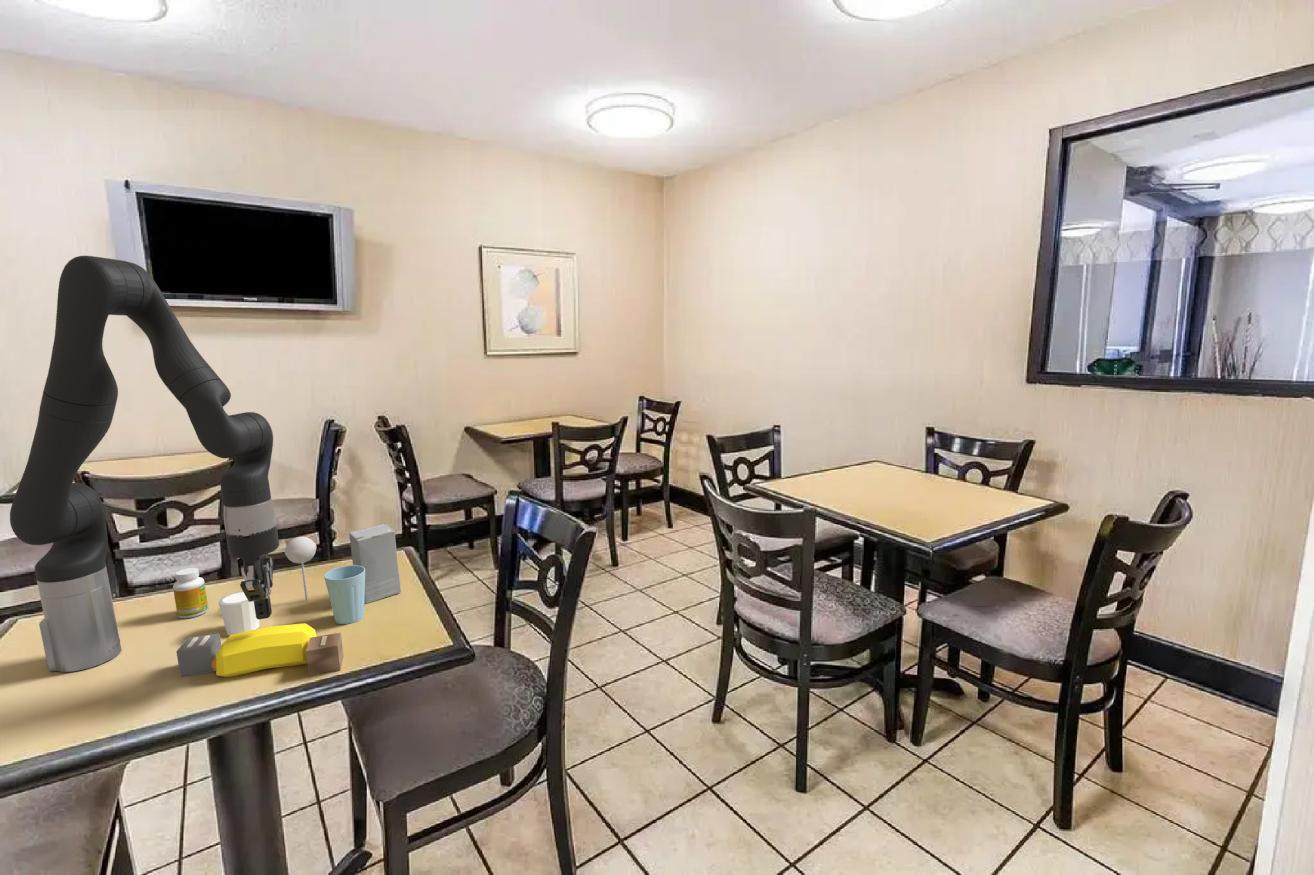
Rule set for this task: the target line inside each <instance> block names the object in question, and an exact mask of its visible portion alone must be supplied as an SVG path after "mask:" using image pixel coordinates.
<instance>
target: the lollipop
mask: <svg viewBox="0 0 1314 875" xmlns="http://www.w3.org/2000/svg"><path fill="white" fill-rule="evenodd" d="M316 551H317V544H316V543H315V542H314V541H313V539H311V538H310V537H308V536H297V537H294V538H293V539H291V540H290V541H289V542H288V543H287V544H286V547H285V548H284V554H285V556H286V557H287V559H288V560H289V561H291V563H293V564H301V572H302V581H303V589H304V598H305V601H306V602H307V601H309V597H308V589H307V580H306V572H305V563H307V562H309V561H310V560H312V559H313V558H314V556H315V554H316Z"/></svg>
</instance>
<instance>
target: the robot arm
mask: <svg viewBox="0 0 1314 875" xmlns="http://www.w3.org/2000/svg"><path fill="white" fill-rule="evenodd" d="M56 301H57V302H56V304H57V305H56V314H55V316H56V318H55V327H54V328H55V330H54V339H53V344H52V349H51V356H50V360H49V361H50V363H49V368H48V370H47V372H48V373H47V377H46V380H45V383H44V387H43V391H42V395H41V399H40V400H41V401H40V405H39V410H38V417H37V418H38V419H37V424H36V428H35V430H34V431H35V432H34V435H33V440H32V443H31V446H30V447H31V448H30V451H29V455H28V459H27V462H26V466H25V468H24V471H23V474H22V476H21V479H20V481H19V484H18V487H17V490H16V492H15V495H14V497H13V500H12V504H11V507H10V511H9V522H10V524H9V525H10V527H11V530H12V532H13V534H14V535H15V536H16V538H18V539H19V540H20V541H21V542H23V543H25V544H27V545H32V546H43V545H48V544H51V547H50V549H49V550H48V552H46V553H45V555H44V556H42V557H41V558H40V559H39V560H38V561H37V562H36V563H35V565H34V574H35V578H36V583H37V590H38V592H39V598H40V602H41V607H42V612H43V616H44V618H43V619H42V620H41V621H40V622H39V624H38V626H39V632H40V635H41V640H42V645H43V650H44V654H45V658H46V664H47V670H48V672H54V671H55V672H56V671H57V672H61V673H62V672H63V673H69V672H76V671H82V670H87V669H90V668H93V667H97V666H100V665H102V664H104V663H107V662H108V661H110V660H112V659H114V658H116V657H117V656H118V655H120V653H121V651H122V646H121V638H120V635H119V627H118V623H117V617H116V614H115V612H116V611H115V608H114V607H115V606H114V603H113V602H114V601H113V596H112V590H111V586H110V580H109V574H108V569H107V563H106V556H107V553H108V551H109V550H108V549H109V540H108V530H107V529H108V528H107V522H106V513H105V509H104V505H103V502H102V499H101V498H100V496H99V494H98V493H97V492H96V491H95V490H94V489H93V488H92V487H90V486H88V485H87V484H85V483H80V482H74V481H75V480H74V479H75V477H76V475H77V473H78V472H79V470H80V468H81V466H82V465H83V464H84V462H85V461H86V460H87V459H88V458H89V457H90V455H91V454H92V453H93V451H94V450H95V449H96V448H97V446H98V445H99V444H100V443H101V442H102V440H103V439H104V437H105V436H106V434H107V433H108V431H109V429H110V427H111V424H112V421H113V419H114V414H115V410H116V406H117V402H118V397H119V387H118V384H117V381H116V379H115V376H114V374H113V373H114V372H113V370H111V369H112V368H111V367H110V365H109V363H108V361H107V359H106V356H105V354H104V353H105V352H104V349H103V347H104V346H103V338H104V333H105V327H106V325H107V324H106V323H107V320H108V317H109V316H126V317H127V318H128V319H130V320H131V321H132V322H133V323H135V325H137V327H139V328H140V329H141V331H143V333H144V334H145V335H146V337H147V339H148V340H149V344H150V345H151V351H152V355H153V361H154V367H155V369H156V373H157V374H158V376H159V378H160V380H161V381H162V382H163V384H164V385H165V387H166V388H167V389H168V391H169V392H170V393H171V394H172V395H173V396H174V397H175V398H176V400H177V401H178V402H179V403H180V405H182V407H184V409H185V410H186V413H187V415H188V419H189V420H190V423H191V425H192V427H193V430H194V432H195V434H196V436H197V439H198V440H199V443H200V444H201V446H202V447H203V448H204V449H205V450H206V451H207V452H208V453H210V454H211V455H213V456H215V457H218V458H219V459H233V458H234V462H233V465H232V466H231V467H230V468H229V469H227V470H226V471H224V472H223V473H222V474H221V476H220V478H219V479H220V480H219V483H220V484H219V485H220V492H221V497H222V499H221V500H222V503H223V524H224V529H225V536H226V537H225V538H226V542H227V550H228V555H229V556H230V557H231V558H234V559H241V560H242V561H243V562H242V563H243V565H241V566H240V569H241V570H240V572H241V576H242V577H243V578H244V580H241V582H240V586H239V587H240V588H241V591H243V592H244V594H245V596H246V597H247V599H248V601H249V602H252V601H254V607H255V614H256V618H257V619H259V620H264V619H269V618H270V617H271V615H272V613H273V610H272V603H271V594H272V590H271V588H273V586H274V585H273V584H274V583H273V581H274V580H273V578H274V577H273V575H274V573H273V572H274V560H275V558H274V556H269V554H271V553H273V552H274V551H276V550H277V549H278V548H279V547H280V540H279V534H278V527H277V525H278V524H277V519H276V512H275V507H274V505H273V501H272V495H271V494H272V493H271V488H270V480H269V472H270V467H271V462H272V454H273V446H274V434H273V430H272V427H271V425H270V423H269V422H268V420H267V419H266V417H264V416H263V415H262V414H260V413H257V412H255V411H249V412H248V411H245V412H241V413H235V414H230V415H229V414H228V413H227V412H226V411H225V408H224V407H225V406H226V405H227V404H228V403H229V402H230V400H231V397H232V394H231V391H230V389H229V387H228V386H227V384H225V383H224V381H223V379H222V378H221V377H219V375H218V374H217V372H216V371H215V370H214V369H213V368H212V366H211V365H210V364H209V363H208V362H207V361H206V360H205V359H204V357H203V356H202V355H201V353H200V352H199V351H198V350H197V348H196V347H195V345H194V344H193V343H192V341H191V339H190V338H189V337H188V334H187V333H186V331H185V330H184V328H183V326H182V324H180V323H181V322H180V321H179V319H178V318H177V316H176V315H175V313H174V311H173V309H172V308H171V306H170V305H169V303H168V301H167V300H166V297H165V296H164V294H163V291H162V290H161V289H160V287H159V286H158V285H157V282H156V281H155V279H154V278H153V277H152V275H150V273H149V272H148V271H147V270H146V269H145V268H143V267H142V266H141V265H139V264H136V263H134V262H130V261H126V260H122V259H114V258H108V257H107V258H106V257H102V256H101V257H100V256H93V255H78V256H74V257H73V258H71V259H70V260H68V262H67V263H66V264H65V265H64V267H63V269H62V271H61V273H60V277H59V282H58V289H57V300H56Z"/></svg>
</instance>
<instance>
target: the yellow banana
mask: <svg viewBox="0 0 1314 875" xmlns="http://www.w3.org/2000/svg"><path fill="white" fill-rule="evenodd" d="M311 637H317V633H316V629H315V628H313V627H312V626H310V625H309V624H307V622H306V623H295V624H284V625H273V626H272V625H271V626H265V627H261V628H257V629H256V630H251V631H246V632H242V633H237V634H233V635H228V637H227V638H226V639H225V641H224V642H223V643H221V648H220V649H219V651H218V652H217V654H216V658H214V659H213V661H212V664H211V666H212V668H213V670H214V672H215V671H216V672H215V673H216V674H215V675H216V676H218V677H223V678H233V677H236V676H240V675H245V674H251V673H255V672H259V671H263V670H268V669H276V668H285V667H292V666H293V667H294V666H299V665H307V657H306V649H307V646H308V643H309V640H310V638H311Z"/></svg>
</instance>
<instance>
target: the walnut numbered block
mask: <svg viewBox="0 0 1314 875" xmlns="http://www.w3.org/2000/svg"><path fill="white" fill-rule="evenodd" d="M316 636H317V635H316ZM342 640H343V639H342V633H341V632H335V633H330V634H329V633H328V634H325V635H318V636H317V637H311V638H310V640H309V643H308V646H307V649H306V657H307V663H306V665H307V671H308V677H312V676H313V675H314V676H318V675H323V674H324V675H325V674H328V673H335V672H341V670H342V664H343V660H344V650H343V641H342Z"/></svg>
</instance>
